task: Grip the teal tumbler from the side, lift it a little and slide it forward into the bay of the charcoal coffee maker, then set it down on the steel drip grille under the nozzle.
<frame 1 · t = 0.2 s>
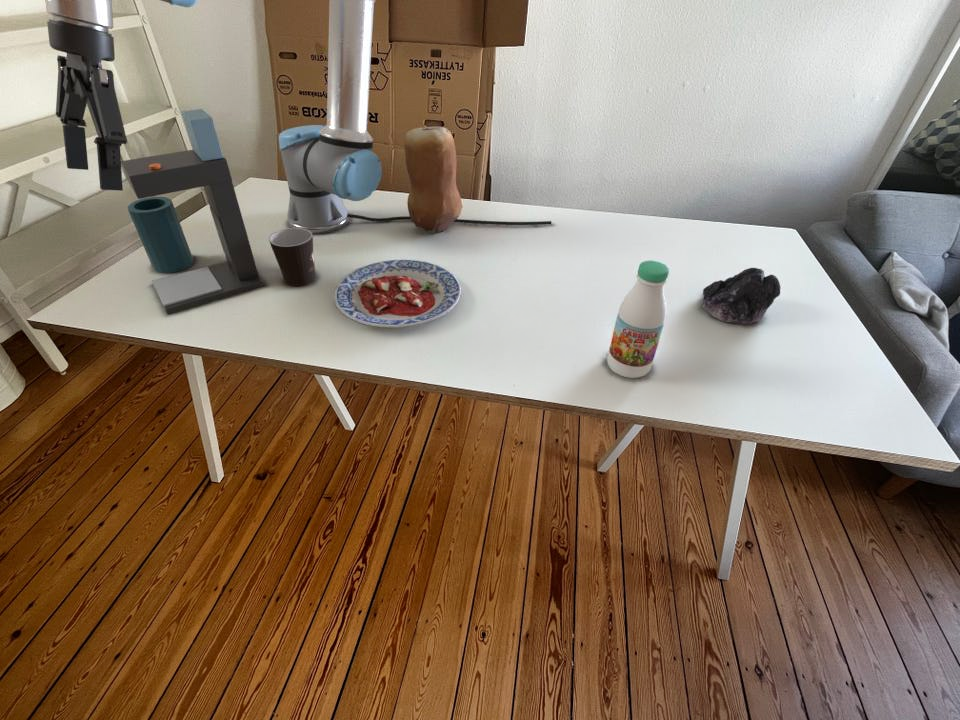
hand: (94, 179, 82), 28 cm above the table, tool tilted 20°, fingers open, 13 cm apart
ceramic plate: (399, 299, 108), on the table
butternut squash: (435, 230, 134), on the table
milk bottle: (627, 366, 93), on the table
teal tumbler: (173, 264, 117), on the table
coffee maker: (189, 291, 108), on the table
coffee mug: (303, 276, 115), on the table
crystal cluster: (731, 309, 108), on the table
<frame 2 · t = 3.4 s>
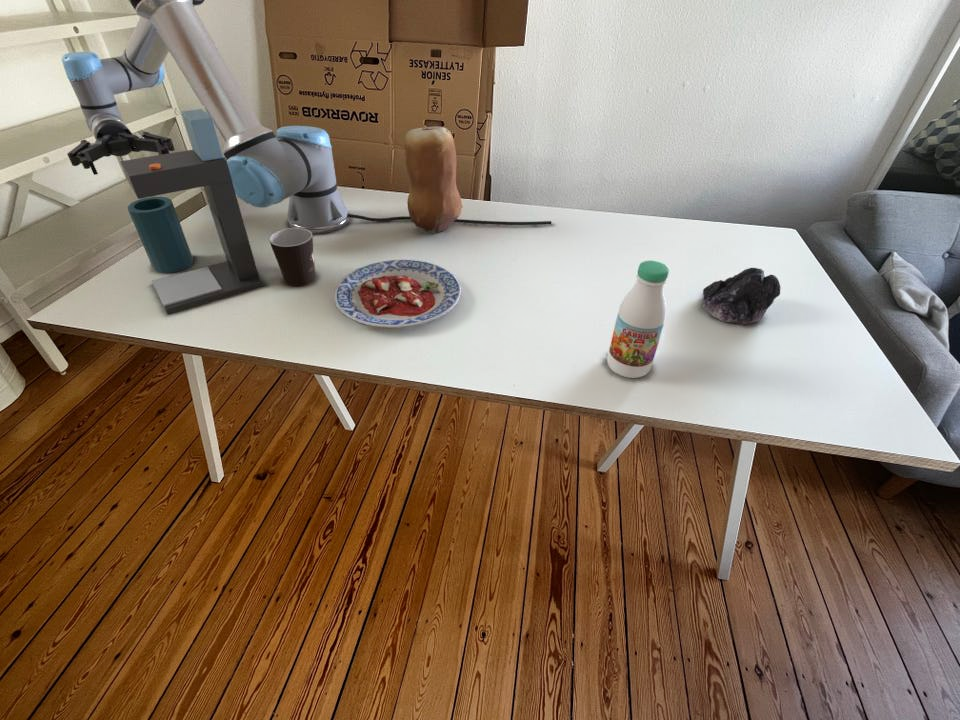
hand: (130, 162, 110), 20 cm above the table, tool horizontal, fingers open, 13 cm apart
nothing on the table moved.
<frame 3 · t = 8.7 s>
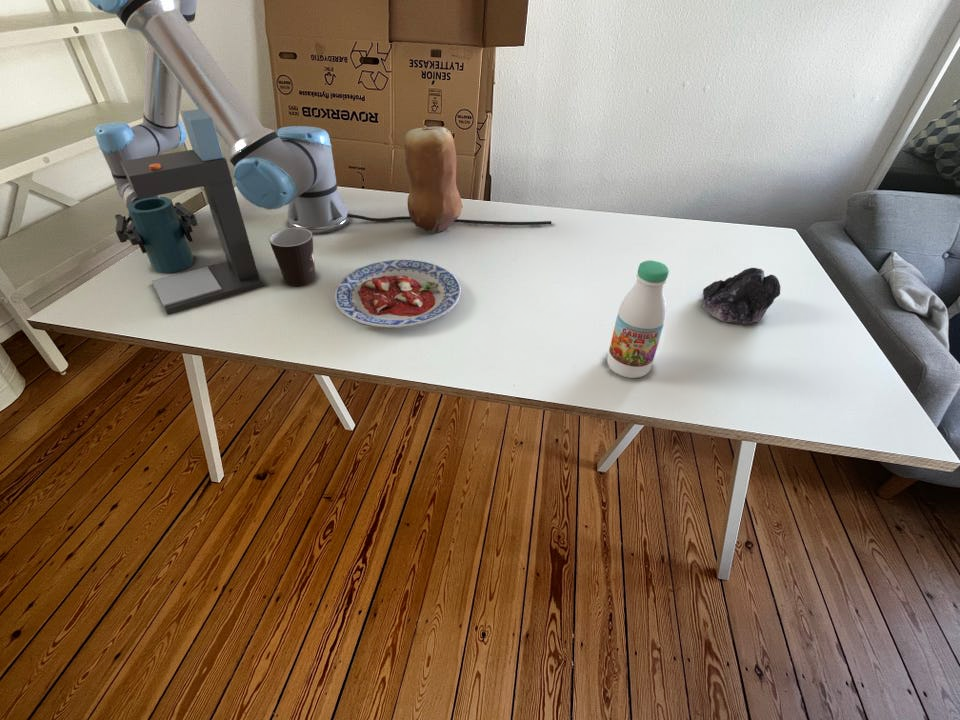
hand: (166, 241, 109), 7 cm above the table, tool horizontal, fingers closed on teal tumbler, 8 cm apart
teal tumbler: (173, 264, 117), on the table, touching gripper
everything else where it was.
when the fingers open (9 cm above the table, at t = 14.7 s): teal tumbler stays where it is, resting on coffee maker.
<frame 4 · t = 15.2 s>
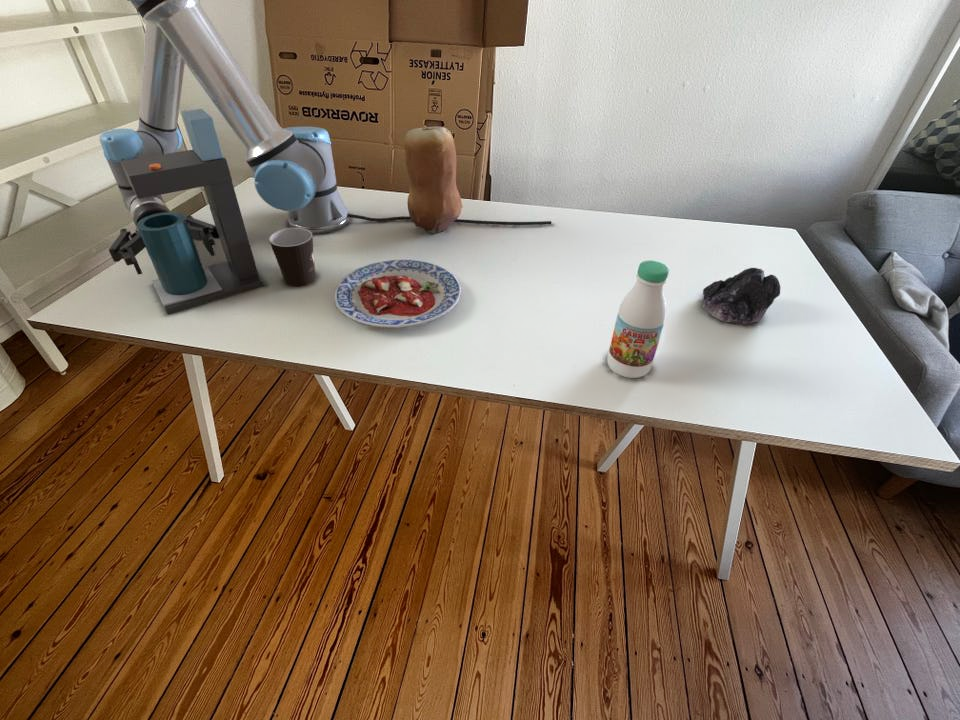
hand: (175, 258, 100), 9 cm above the table, tool horizontal, fingers open, 12 cm apart
teal tumbler: (186, 284, 107), point 2 cm above the table, touching coffee maker
everything else where it was.
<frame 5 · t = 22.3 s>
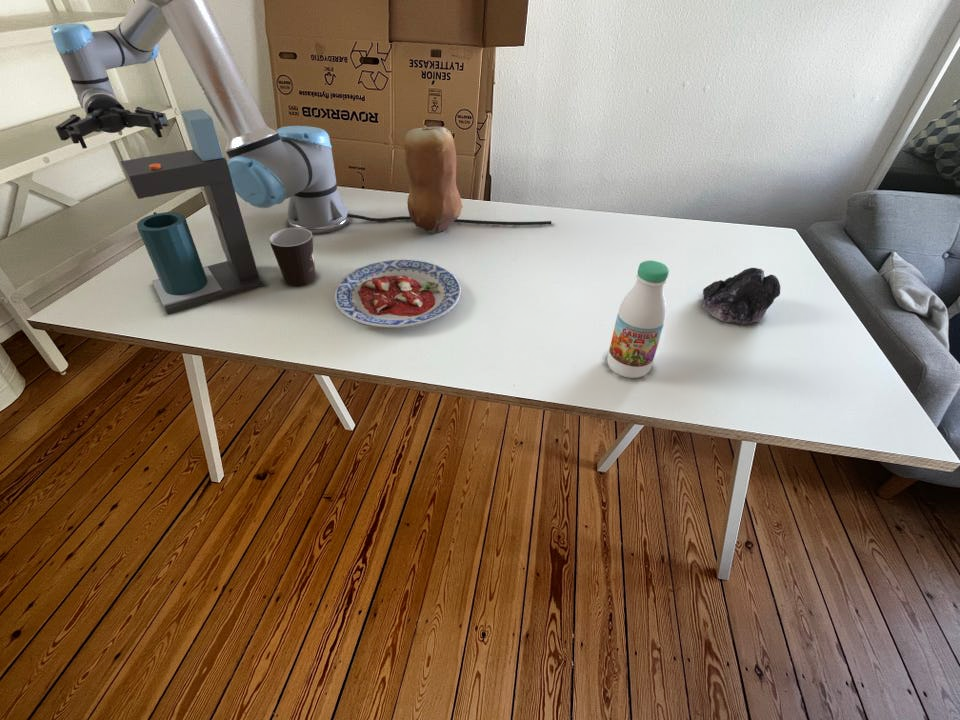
hand: (121, 135, 105), 26 cm above the table, tool horizontal, fingers open, 13 cm apart
nothing on the table moved.
at the end: teal tumbler 0.1 cm off-centre on the coffee maker, point 1.6 cm above the coffee maker's base; teal tumbler tilted 0°; the gripper is holding nothing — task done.
